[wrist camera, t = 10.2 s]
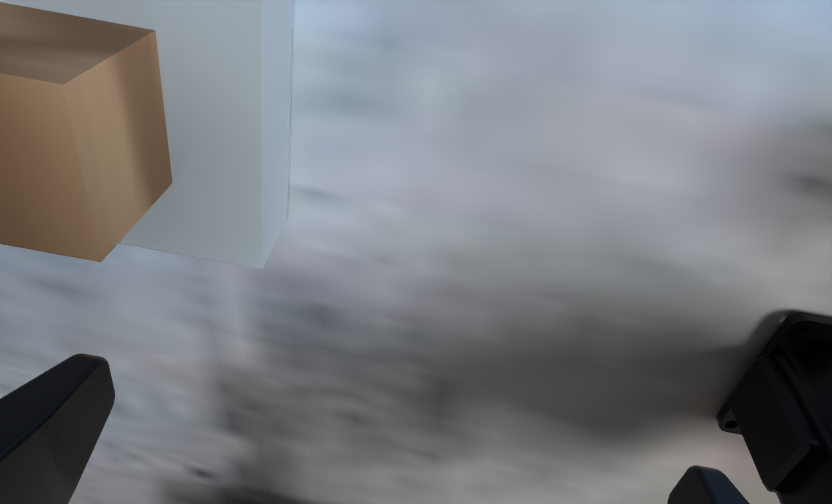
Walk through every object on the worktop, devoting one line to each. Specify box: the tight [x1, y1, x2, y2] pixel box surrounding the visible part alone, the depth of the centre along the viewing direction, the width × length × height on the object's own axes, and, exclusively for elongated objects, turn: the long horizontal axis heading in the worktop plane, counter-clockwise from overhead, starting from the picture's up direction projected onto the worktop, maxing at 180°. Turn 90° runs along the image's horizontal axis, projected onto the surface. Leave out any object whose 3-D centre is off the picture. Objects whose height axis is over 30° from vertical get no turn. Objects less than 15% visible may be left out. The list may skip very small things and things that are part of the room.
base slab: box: [0, 0, 293, 269], centre depth 17 cm, size 10×10×3 cm
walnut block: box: [0, 2, 172, 262], centre depth 15 cm, size 4×4×4 cm
